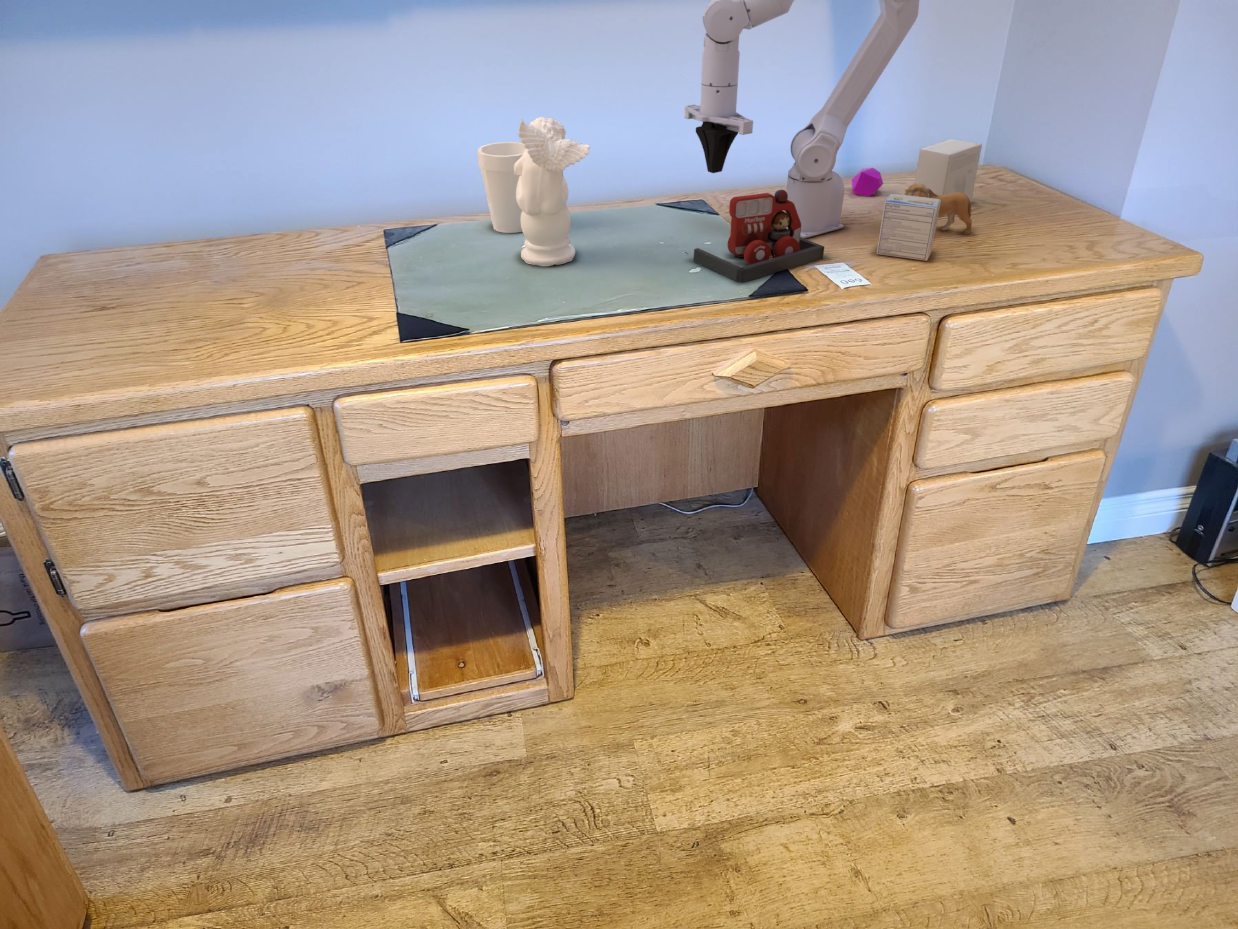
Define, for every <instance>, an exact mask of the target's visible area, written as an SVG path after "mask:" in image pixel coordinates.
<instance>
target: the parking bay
mask: <svg viewBox="0 0 1238 929" xmlns="http://www.w3.org/2000/svg"><path fill="white" fill-rule="evenodd" d="M799 246H800V250H799V251H796V252H793V253H789V254H786V255H782V256H779V257H773V258H769V259H768V260H765V261H761V262H758V263H754V264H751V265H748V264H746V265H744V266H739V265H737V264H735V263H732V262H730V261H728V260H726V259H724V258H722V257H720V256H716V255H715V254H712V253H710V252H707V251H705V250H704V249H702V248H699V247H698V248H694V249H693V262H694V263H696V264H699V265H701V266H703V267H705V268H707V269H710V270H712V271H714V272H715V273H718V274H721V275H722V276H724V277H726V278H728V279H731V280H733V281H735V282H737V283H740V284H742V283H745V282H749V281H752V280H755V279H759V278H763V277H766V276H768V275H773V274H775V273H779V272H782V271H786V270H789V269H793V268H796V267H800V266H803V265H806V264H810V263H813V262H816V261H820V260H823V259H824V255H825V254H824V253H825V246H824V245H822V244H820V243H817V242H814V241H811V240H808V239H807V238H802V237H800V242H799Z"/></svg>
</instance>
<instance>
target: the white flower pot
mask: <svg viewBox="0 0 1238 929" xmlns="http://www.w3.org/2000/svg"><path fill="white" fill-rule="evenodd" d="M526 149H527V148H525V147H524V144H523V143H522V142H521V141H520V142H519V141H501V142H492V143H487V144H485V145H481V146H480V147H477V162H478V167H479V168H480V173H481V177H482V182H483V187H484V192H485V196H486V201H487V206H488V211H489V214H490V219H491V223H492V226H493V230H494V231H496V232H499V233H503V234H516V233H523V231H522V228H521V220H520V219H521V213H522V210H521V209H520V207H519V205H518V203H517V200H516V188H517V183H518V179H519V175H515V174H514V165H515V163H516V162H517V161H518V160H519V159H520V158H521V157H522V155H523V154H524V152H525V151H526Z"/></svg>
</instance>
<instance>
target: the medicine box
mask: <svg viewBox="0 0 1238 929" xmlns="http://www.w3.org/2000/svg"><path fill="white" fill-rule="evenodd" d="M940 203H941V200H940V199H934V198H926V197H918V196H909V195H905V194H899V193H890V194H889V195H888V197H887V198H886V199H885V200H884V204H883V209H882V210H883V211H882V215H881V216H882V217H881V222H880V228H879V229H880V230H879V236H878V242H877V248H876V255H881V256H887V257H896V258H901V259H902V258H903V259H910V260H917V261H925V262H928V260H929V258H930V256H931V254H932V251H933V246H934V240H935V235H936V231H937V230H936V229H937V223H938V219H939V218H938V214H939V208H940Z"/></svg>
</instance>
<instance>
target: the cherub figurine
mask: <svg viewBox="0 0 1238 929" xmlns="http://www.w3.org/2000/svg"><path fill="white" fill-rule="evenodd" d="M566 134H567V132H566V128H565V126H564V124H563V125H562V123H560V122H559V121H558V120H557V119H554V118H553V117H550V116H549V117H544V116H539V117H536V118H535V119H534V120H532V121H530V123H529V124H527V123H525V122H524V120H523V118H521V119H520V121H519V124H518V133H517V136H518V138H519V139H520V143H523V144H524V147H525V148H527V149H526V151H525V152H524V154H523V155H522V157H521V158H520V159H519V160H518V161H517V162H516V163H515V165H514V174H515V175H519V179H518V183H517V188H516V200H517V203H518V205H519V207H520V209H521V210H522V213H521V219H520V220H521V228H522V234H523V235H524V237H525V239H524V246H525V247H523V248H522V249H521V252H520V257H521V259H522V260H523V261H524V262H525V263H526V264H528V265H533V266H539V267H552V266H554V265H555V266H559V265H562V264H563V265H564V264H566V263H568V262H572V261H573V260H574V258H575V255H576V249H575V247H574V246H573V245H572V244H570V243H571V238H570V237H569V234H570V231H571V226H572V217H571V213H570V211H569V208H568V206H567V201H568V200H569V186H568V183H567V181H566V178H565V176H564V171H565V170H566V168H569V167H570V165H571V166H574V165H575V164H576V163H580V161H581V160H583V159H585V158H586V156H587V155H589V154H590V148H591V145H589V144H583V143H582V142H577V141H576V140H573V139H570V138H566Z"/></svg>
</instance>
